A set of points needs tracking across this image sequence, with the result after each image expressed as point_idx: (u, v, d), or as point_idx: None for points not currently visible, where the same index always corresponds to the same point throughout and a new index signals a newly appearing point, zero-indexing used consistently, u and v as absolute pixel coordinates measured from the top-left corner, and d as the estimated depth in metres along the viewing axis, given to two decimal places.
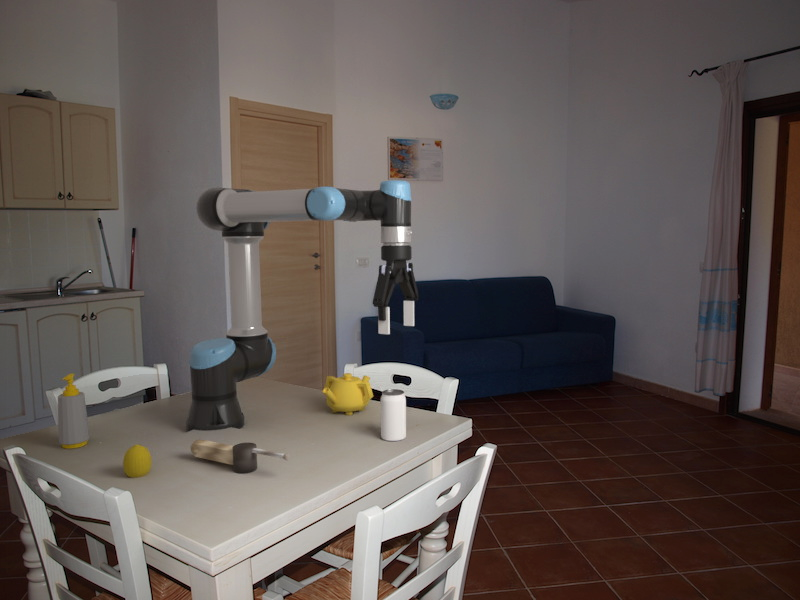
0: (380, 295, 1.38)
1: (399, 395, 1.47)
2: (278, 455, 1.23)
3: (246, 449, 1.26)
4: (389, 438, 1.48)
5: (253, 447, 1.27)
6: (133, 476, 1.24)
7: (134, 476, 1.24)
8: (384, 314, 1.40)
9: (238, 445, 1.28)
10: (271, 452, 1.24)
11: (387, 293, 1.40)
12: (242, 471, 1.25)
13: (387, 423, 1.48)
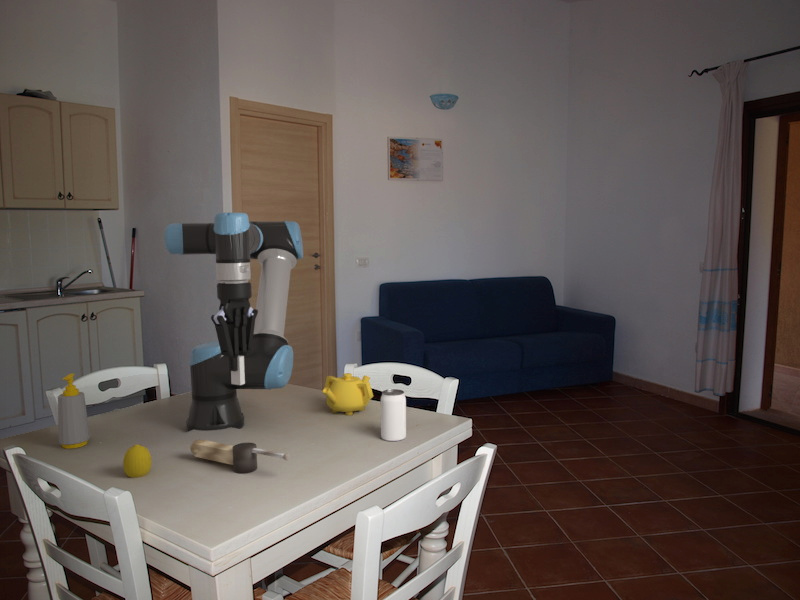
0: (225, 347, 1.31)
1: (399, 395, 1.47)
2: (278, 455, 1.23)
3: (246, 449, 1.26)
4: (389, 438, 1.48)
5: (253, 447, 1.27)
6: (133, 476, 1.24)
7: (134, 476, 1.24)
8: (235, 364, 1.33)
9: (238, 445, 1.28)
10: (271, 452, 1.24)
11: (233, 342, 1.32)
12: (242, 471, 1.25)
13: (387, 423, 1.48)
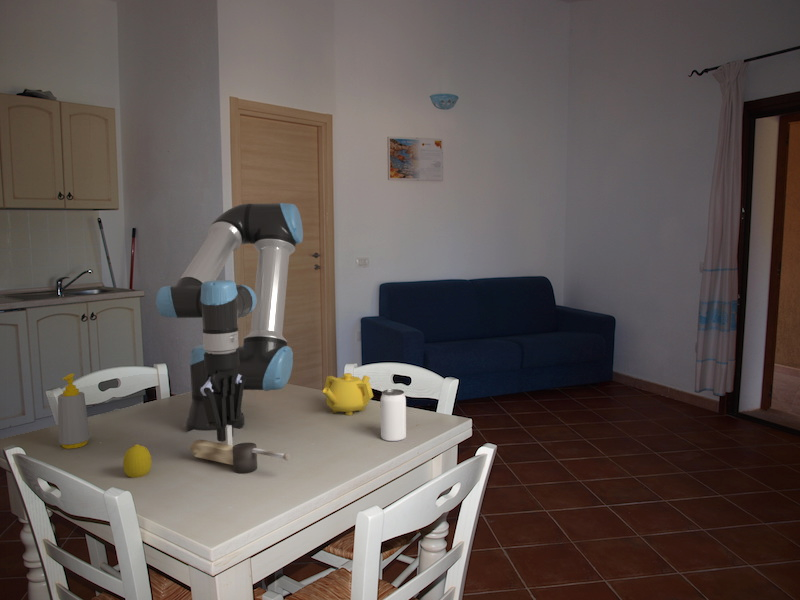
0: (213, 418, 1.28)
1: (399, 395, 1.47)
2: (278, 455, 1.23)
3: (246, 449, 1.26)
4: (389, 438, 1.48)
5: (253, 447, 1.27)
6: (133, 476, 1.24)
7: (134, 476, 1.24)
8: (223, 434, 1.31)
9: (238, 445, 1.28)
10: (271, 452, 1.24)
11: (221, 413, 1.30)
12: (242, 471, 1.25)
13: (387, 423, 1.48)
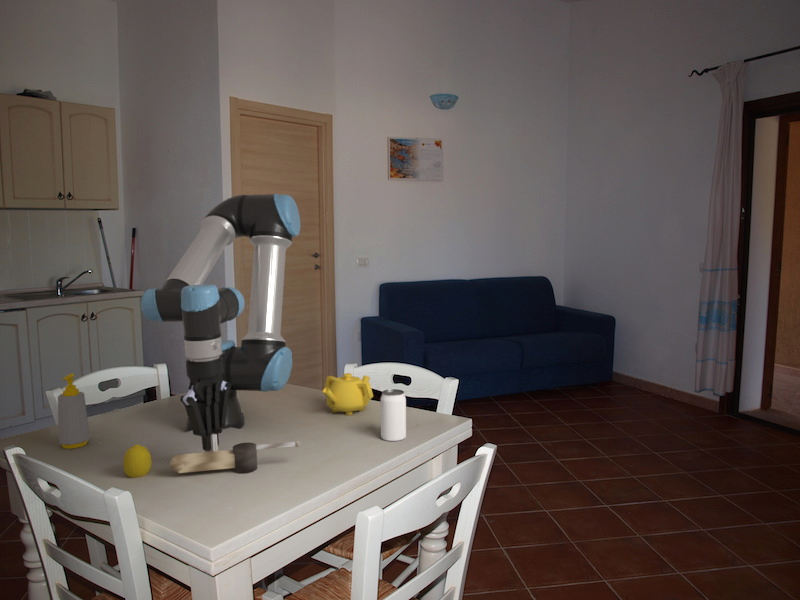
0: (197, 428, 1.24)
1: (399, 395, 1.47)
2: (289, 444, 1.29)
3: (251, 447, 1.27)
4: (389, 438, 1.48)
5: (254, 445, 1.28)
6: (133, 476, 1.24)
7: (134, 476, 1.24)
8: (208, 443, 1.27)
9: (236, 447, 1.27)
10: (279, 444, 1.29)
11: (205, 422, 1.26)
12: (250, 470, 1.26)
13: (387, 423, 1.48)
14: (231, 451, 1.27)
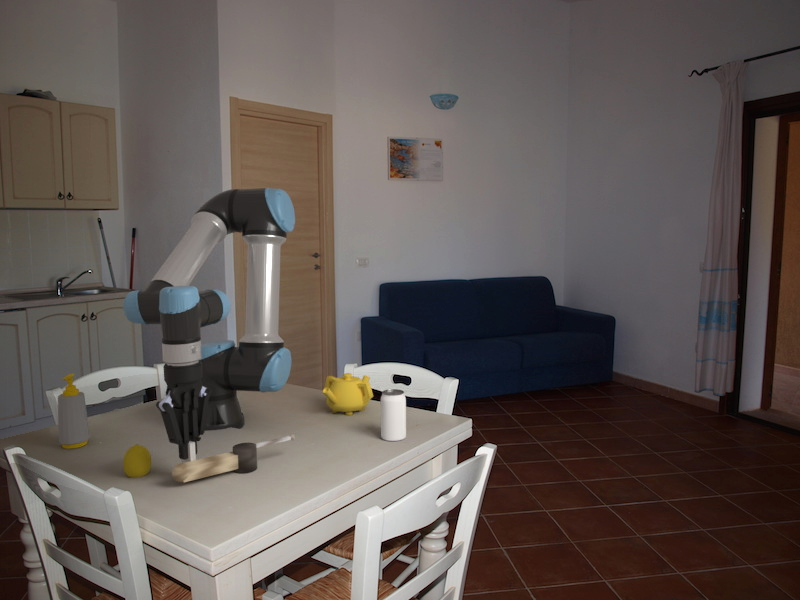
0: (173, 435, 1.19)
1: (399, 395, 1.47)
2: (285, 438, 1.33)
3: (253, 446, 1.27)
4: (389, 438, 1.48)
5: (253, 443, 1.29)
6: (133, 476, 1.24)
7: (134, 476, 1.24)
8: (185, 452, 1.22)
9: (237, 448, 1.26)
10: (276, 439, 1.32)
11: (182, 429, 1.20)
12: (254, 468, 1.27)
13: (387, 423, 1.48)
14: (231, 453, 1.26)
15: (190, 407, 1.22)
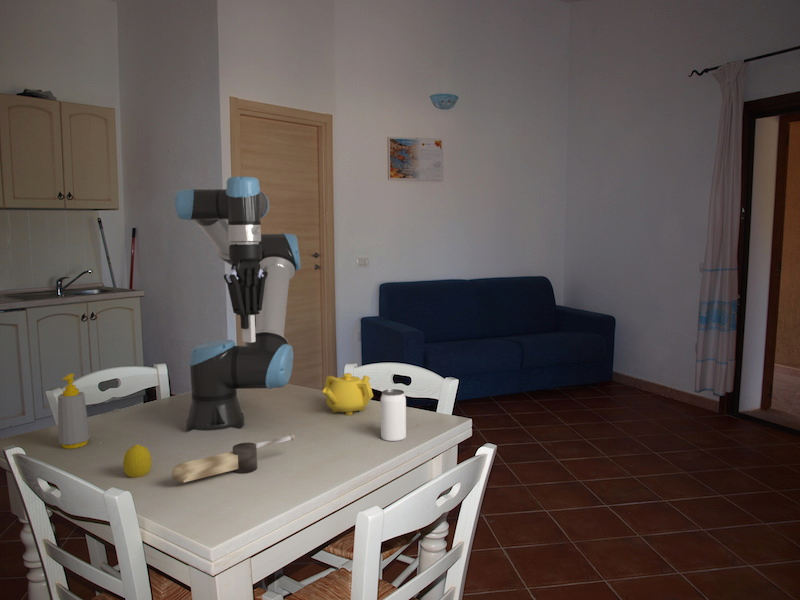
0: (237, 305, 1.37)
1: (399, 395, 1.47)
2: (285, 438, 1.33)
3: (253, 446, 1.27)
4: (389, 438, 1.48)
5: (253, 443, 1.29)
6: (133, 476, 1.24)
7: (134, 476, 1.24)
8: (246, 322, 1.40)
9: (237, 448, 1.26)
10: (276, 439, 1.32)
11: (244, 301, 1.39)
12: (254, 468, 1.27)
13: (387, 423, 1.48)
14: (231, 453, 1.26)
15: (251, 284, 1.41)
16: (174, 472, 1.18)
